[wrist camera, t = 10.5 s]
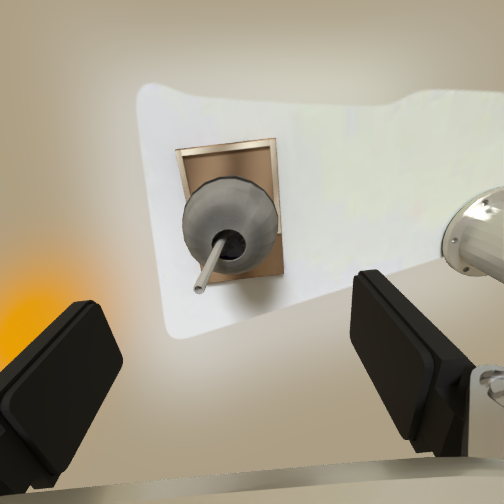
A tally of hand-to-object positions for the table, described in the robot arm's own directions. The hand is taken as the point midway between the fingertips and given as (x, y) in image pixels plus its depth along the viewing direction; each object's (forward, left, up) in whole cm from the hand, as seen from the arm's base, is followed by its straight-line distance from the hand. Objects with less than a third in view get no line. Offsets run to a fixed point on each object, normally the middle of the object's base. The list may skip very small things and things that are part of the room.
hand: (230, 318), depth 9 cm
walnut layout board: (0, +3, -23) cm, 24 cm away
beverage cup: (0, 0, -22) cm, 22 cm away
